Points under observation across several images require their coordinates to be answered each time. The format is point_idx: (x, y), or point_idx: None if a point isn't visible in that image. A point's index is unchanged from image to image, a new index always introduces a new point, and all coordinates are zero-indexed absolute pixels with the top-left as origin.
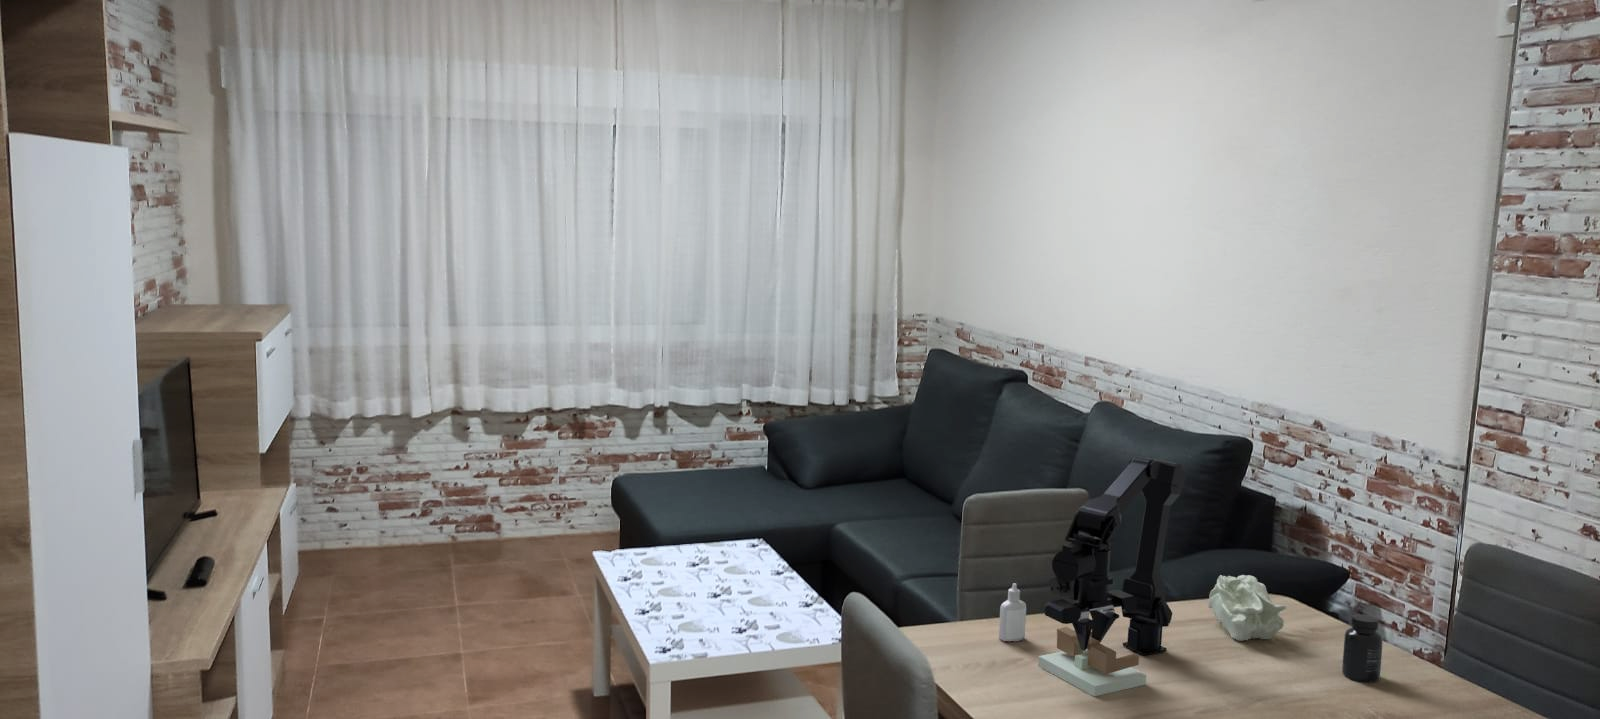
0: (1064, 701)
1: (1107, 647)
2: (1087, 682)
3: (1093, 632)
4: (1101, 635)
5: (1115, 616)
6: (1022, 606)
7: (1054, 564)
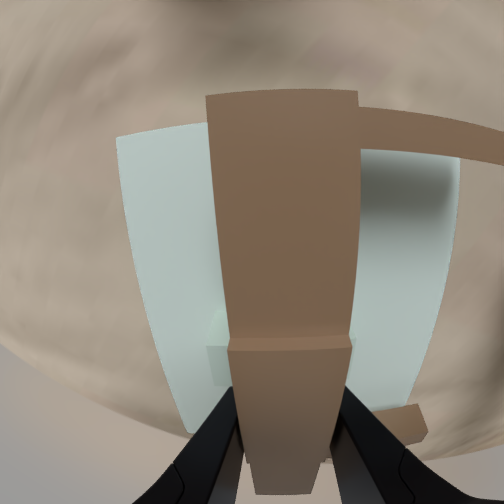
0: (104, 391)
1: (314, 476)
2: (180, 413)
3: (352, 455)
4: (339, 489)
5: None
6: None
7: None
